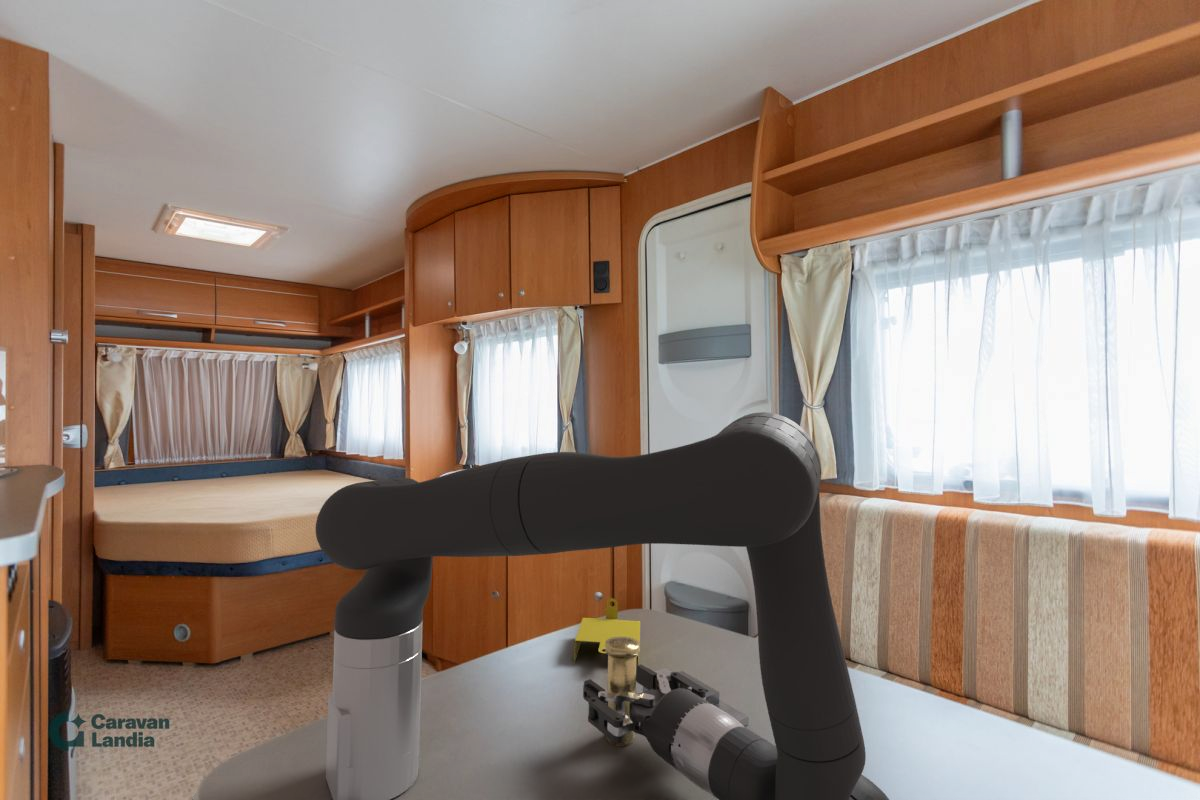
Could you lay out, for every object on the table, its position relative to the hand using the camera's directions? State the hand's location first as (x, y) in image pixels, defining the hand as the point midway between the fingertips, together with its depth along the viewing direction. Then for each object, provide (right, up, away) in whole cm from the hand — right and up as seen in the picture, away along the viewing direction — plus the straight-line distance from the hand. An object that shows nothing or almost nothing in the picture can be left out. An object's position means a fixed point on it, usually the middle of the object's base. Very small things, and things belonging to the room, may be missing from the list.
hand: (612, 679), depth 76 cm
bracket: (0, -8, +23) cm, 24 cm away
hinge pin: (+1, -7, -2) cm, 7 cm away
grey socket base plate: (+10, -7, +7) cm, 14 cm away
